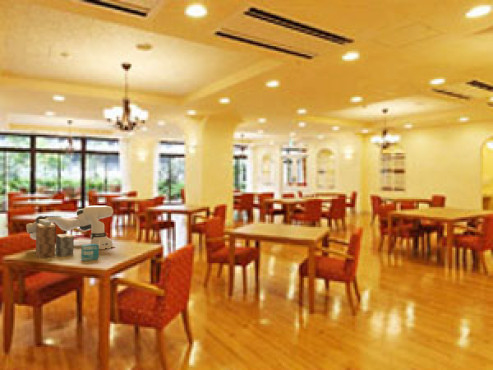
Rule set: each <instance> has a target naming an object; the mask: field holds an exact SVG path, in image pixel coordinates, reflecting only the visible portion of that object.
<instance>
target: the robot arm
mask: <svg viewBox="0 0 493 370" xmlns="http://www.w3.org/2000/svg"><path fill="white" fill-rule="evenodd" d="M113 214H114V209H113V207H112V206H109V205H88V206H84V208H81V209H78V210H77V212H76V216H77V218H74V217H73V218H72V217H71V218H65V217H62V216H60V215H59V216H58V215H57V216H55V215H53V216H52V215H44V214H43V215H39V216H37V217H36V218H35V221H34V222H33V223H27V224H26V227H25V228H26V232H27V234H29V238H30V239H32V240H35V241H36V224H41V223H39V219H45V220H47V221H50V222H51V223H52V224H55V225H56V226H57V227H58V228H59V229H61V230H62V231H65V232H67V231H72V230H74V229H76V228H78V229H79V230H81V231H84V232H86V231H87V232H89V231H90V230H91V232H90V243H89V244H97V245H99V250H104V249H105V248H107V249H111V247H114V248H116V245H115V244H113V240H112V239H111V238H110V237H108V236H109V233H108V232H105V224H104V222H103V221H100V220H101V219H106V218H109V217H112V216H113Z"/></svg>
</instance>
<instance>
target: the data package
mask: <svg viewBox="0 0 493 370" xmlns="http://www.w3.org/2000/svg"><path fill="white" fill-rule="evenodd" d="M99 250H100V249H99V245H97V244H90V243H89V244H82V245H81V251H80V253H81V254H80V257H81V258H80V259H81V260H82V261H84V262H87V261H96V260H98V259H99V256H100V254H99V252H100V251H99Z"/></svg>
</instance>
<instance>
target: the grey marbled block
mask: <svg viewBox="0 0 493 370" xmlns="http://www.w3.org/2000/svg"><path fill="white" fill-rule="evenodd" d="M74 238H75V237H74V235H73V234H71V233H63V234H62V233H61V234H55V255H57V256H59V257H66V256H74V246H75V245H74Z"/></svg>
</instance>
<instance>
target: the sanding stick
mask: <svg viewBox="0 0 493 370" xmlns="http://www.w3.org/2000/svg"><path fill="white" fill-rule="evenodd" d="M39 223H41V224H43V225H51V222H50V221H47V220H45V219H39Z"/></svg>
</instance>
